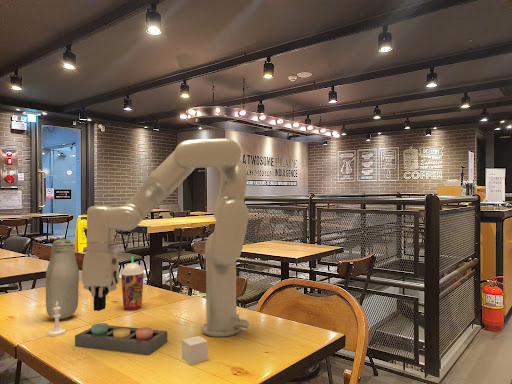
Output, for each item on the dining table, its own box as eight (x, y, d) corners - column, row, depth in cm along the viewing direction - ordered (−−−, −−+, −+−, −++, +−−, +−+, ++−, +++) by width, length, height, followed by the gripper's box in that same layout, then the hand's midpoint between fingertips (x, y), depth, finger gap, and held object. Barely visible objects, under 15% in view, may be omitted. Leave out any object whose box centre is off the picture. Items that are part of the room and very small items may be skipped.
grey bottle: (62, 324, 127) (62, 241, 128) (39, 321, 131) (39, 240, 131) (84, 315, 137) (84, 238, 137) (62, 312, 140) (62, 237, 141)
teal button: (111, 332, 113) (111, 323, 113) (101, 337, 109) (101, 328, 109) (98, 331, 115) (98, 322, 115) (87, 336, 110) (87, 327, 110)
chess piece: (46, 337, 115) (46, 304, 116) (50, 331, 120) (50, 300, 120) (63, 335, 117) (63, 303, 117) (67, 330, 122) (67, 298, 122)
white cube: (198, 354, 102) (198, 335, 103) (207, 360, 98) (207, 341, 99) (181, 358, 100) (181, 339, 100) (190, 365, 96) (190, 345, 96)
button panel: (167, 341, 111) (167, 331, 111) (148, 355, 102) (148, 343, 102) (98, 333, 118) (98, 324, 118) (74, 346, 108) (74, 335, 108)
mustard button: (133, 337, 111) (133, 329, 111) (123, 343, 107) (123, 334, 107) (119, 336, 113) (119, 327, 113) (109, 342, 108) (109, 333, 108)
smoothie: (136, 311, 141) (136, 258, 141) (116, 310, 142) (116, 257, 142) (147, 305, 149) (147, 254, 149) (128, 304, 150) (128, 254, 151)
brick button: (155, 337, 109) (155, 328, 109) (147, 343, 105) (147, 333, 105) (141, 335, 111) (141, 326, 111) (132, 341, 106) (132, 332, 106)
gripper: (129, 246, 114) (129, 308, 113) (88, 245, 118) (87, 304, 117) (114, 250, 106) (113, 315, 106) (70, 248, 110) (69, 311, 110)
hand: (99, 309), depth 112 cm, fingers closed
